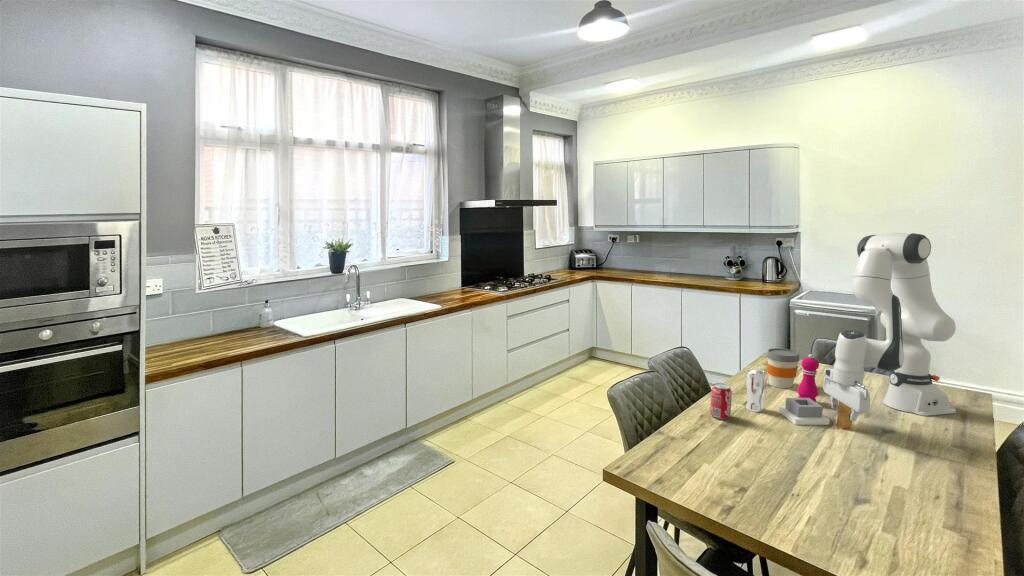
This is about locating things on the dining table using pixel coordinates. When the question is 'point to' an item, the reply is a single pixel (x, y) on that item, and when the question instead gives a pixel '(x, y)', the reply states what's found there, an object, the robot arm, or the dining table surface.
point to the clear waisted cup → (755, 389)
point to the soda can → (721, 401)
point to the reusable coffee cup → (782, 367)
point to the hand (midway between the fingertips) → (843, 414)
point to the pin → (844, 416)
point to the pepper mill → (808, 378)
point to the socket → (803, 412)
